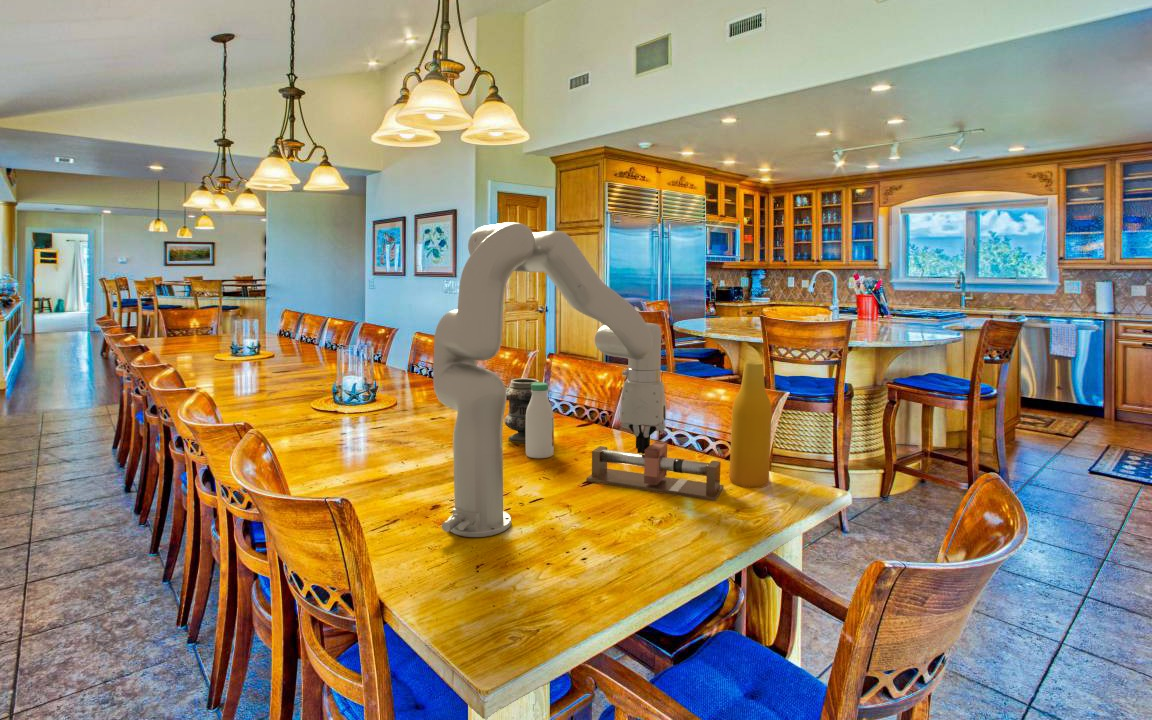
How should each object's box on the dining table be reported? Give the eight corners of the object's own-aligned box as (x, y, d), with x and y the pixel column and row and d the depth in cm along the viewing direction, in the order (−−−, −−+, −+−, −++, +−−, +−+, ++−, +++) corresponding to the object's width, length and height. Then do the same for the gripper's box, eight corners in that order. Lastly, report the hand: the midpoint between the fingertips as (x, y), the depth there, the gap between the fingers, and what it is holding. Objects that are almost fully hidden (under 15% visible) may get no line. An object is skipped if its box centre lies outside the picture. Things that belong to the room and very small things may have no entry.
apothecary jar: (552, 437, 192) (552, 379, 189) (529, 446, 182) (528, 385, 179) (520, 432, 198) (520, 375, 196) (496, 440, 188) (495, 381, 185)
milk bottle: (549, 460, 169) (549, 386, 166) (522, 458, 170) (521, 385, 167) (556, 452, 176) (556, 381, 173) (529, 450, 178) (529, 380, 175)
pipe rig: (715, 501, 139) (716, 470, 138) (586, 481, 152) (586, 452, 151) (723, 488, 147) (724, 459, 146) (600, 470, 160) (601, 443, 159)
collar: (656, 485, 145) (657, 451, 144) (644, 483, 146) (644, 449, 145) (666, 475, 152) (667, 442, 151) (654, 473, 153) (655, 441, 152)
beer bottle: (741, 489, 146) (746, 366, 142) (722, 477, 155) (726, 360, 151) (776, 486, 149) (782, 365, 145) (755, 474, 157) (760, 359, 153)
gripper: (608, 376, 147) (607, 452, 149) (670, 380, 140) (668, 460, 143) (619, 371, 153) (618, 444, 156) (679, 375, 147) (677, 451, 150)
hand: (642, 451), depth 149 cm, fingers closed
